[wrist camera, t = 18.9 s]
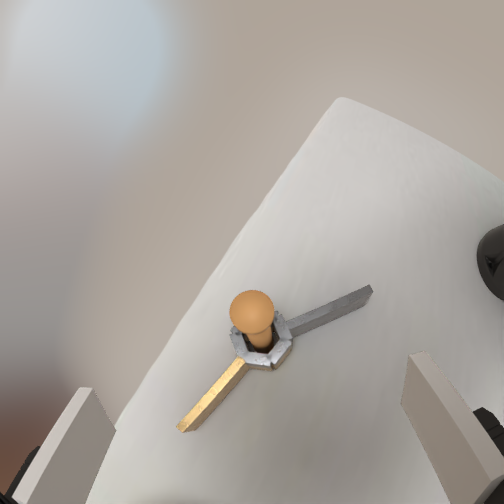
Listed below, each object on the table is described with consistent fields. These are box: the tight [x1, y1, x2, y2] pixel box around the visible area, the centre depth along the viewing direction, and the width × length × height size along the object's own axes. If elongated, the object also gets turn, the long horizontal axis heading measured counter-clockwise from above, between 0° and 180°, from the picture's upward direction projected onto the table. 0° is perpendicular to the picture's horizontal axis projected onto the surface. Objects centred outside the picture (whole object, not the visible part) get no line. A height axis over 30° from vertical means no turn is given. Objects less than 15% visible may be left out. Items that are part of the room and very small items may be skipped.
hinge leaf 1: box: [176, 327, 291, 433], centre depth 41 cm, size 8×21×6 cm, turn 141°
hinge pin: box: [230, 290, 275, 354], centre depth 38 cm, size 4×4×17 cm
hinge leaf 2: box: [230, 285, 373, 369], centre depth 43 cm, size 20×8×6 cm, turn 111°
